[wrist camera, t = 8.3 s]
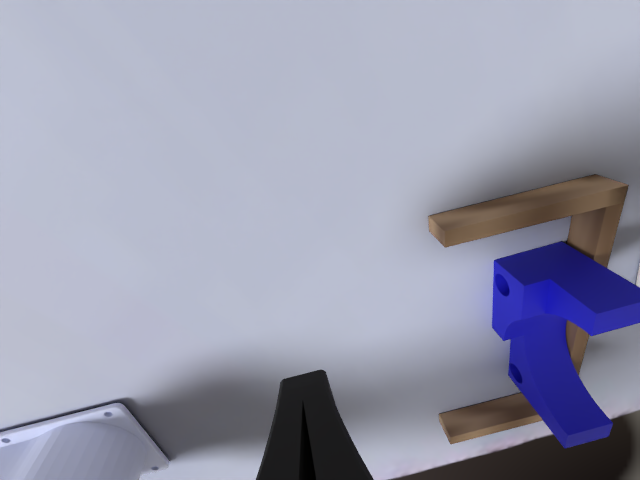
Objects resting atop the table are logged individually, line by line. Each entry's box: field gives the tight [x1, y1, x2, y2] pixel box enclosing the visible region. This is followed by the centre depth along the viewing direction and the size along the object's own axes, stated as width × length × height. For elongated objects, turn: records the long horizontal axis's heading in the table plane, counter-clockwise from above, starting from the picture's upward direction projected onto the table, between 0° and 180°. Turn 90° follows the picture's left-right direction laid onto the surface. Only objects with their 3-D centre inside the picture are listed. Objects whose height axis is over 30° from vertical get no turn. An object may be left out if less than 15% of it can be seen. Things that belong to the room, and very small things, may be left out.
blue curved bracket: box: [492, 242, 640, 448], centre depth 21 cm, size 12×4×6 cm, turn 14°
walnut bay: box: [428, 174, 629, 444], centre depth 23 cm, size 10×20×2 cm, turn 12°
